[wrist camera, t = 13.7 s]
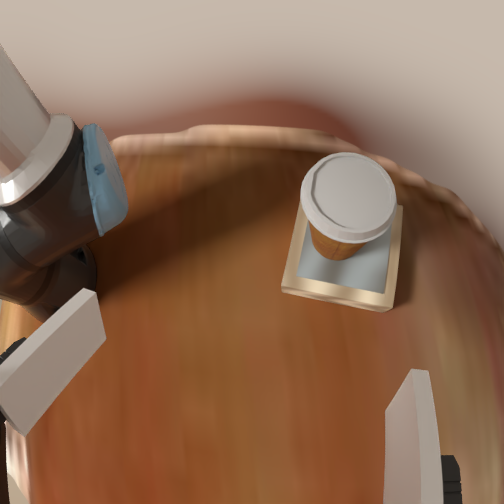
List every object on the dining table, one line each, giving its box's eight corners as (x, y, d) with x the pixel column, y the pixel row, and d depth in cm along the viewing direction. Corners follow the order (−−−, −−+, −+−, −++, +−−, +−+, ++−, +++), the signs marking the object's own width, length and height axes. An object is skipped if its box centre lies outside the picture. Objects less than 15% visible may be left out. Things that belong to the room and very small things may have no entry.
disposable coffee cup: (328, 189, 42) (339, 133, 31) (386, 232, 39) (416, 187, 28) (282, 240, 40) (279, 194, 29) (342, 289, 38) (364, 259, 26)
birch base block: (282, 292, 43) (281, 285, 39) (302, 198, 47) (303, 184, 43) (383, 312, 40) (393, 307, 36) (395, 217, 44) (403, 205, 40)
